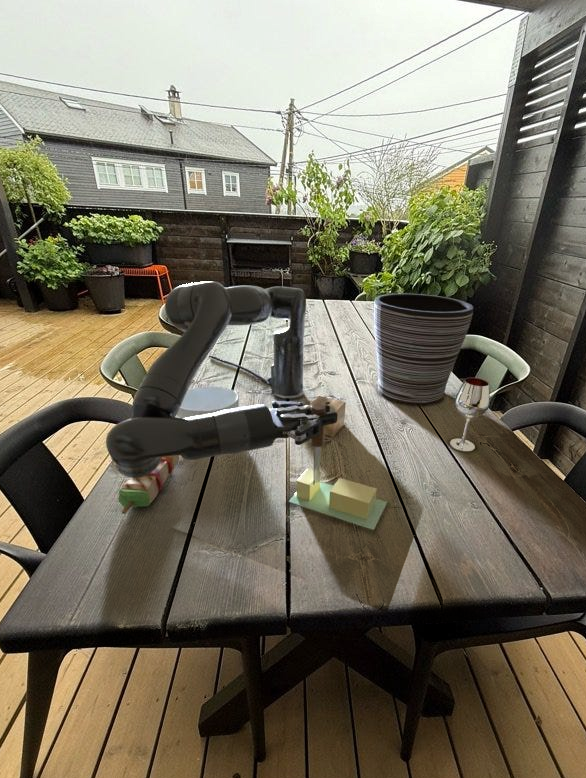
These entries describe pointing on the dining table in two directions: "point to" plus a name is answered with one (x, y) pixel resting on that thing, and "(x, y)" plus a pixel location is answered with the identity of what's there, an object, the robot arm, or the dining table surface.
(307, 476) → the butter slice
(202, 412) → the cereal bowl
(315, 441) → the knife
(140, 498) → the skewer
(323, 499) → the butter dish
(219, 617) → the dining table surface
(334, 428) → the knife block
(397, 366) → the planter pot
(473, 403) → the wineglass
